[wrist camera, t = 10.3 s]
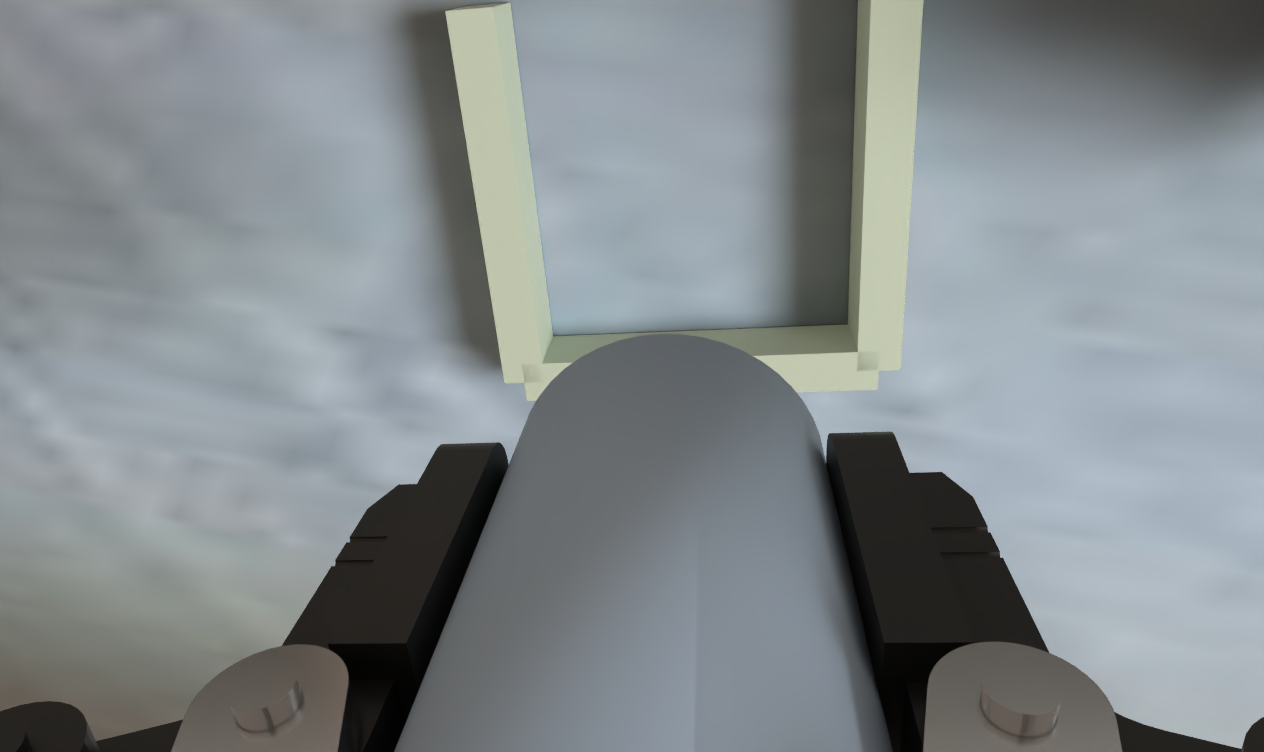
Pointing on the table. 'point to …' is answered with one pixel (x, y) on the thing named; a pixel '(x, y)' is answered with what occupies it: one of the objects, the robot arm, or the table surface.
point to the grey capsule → (657, 574)
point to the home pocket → (790, 351)
